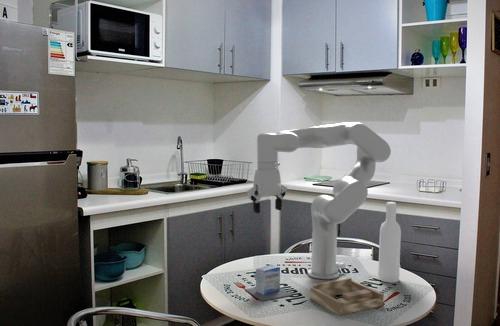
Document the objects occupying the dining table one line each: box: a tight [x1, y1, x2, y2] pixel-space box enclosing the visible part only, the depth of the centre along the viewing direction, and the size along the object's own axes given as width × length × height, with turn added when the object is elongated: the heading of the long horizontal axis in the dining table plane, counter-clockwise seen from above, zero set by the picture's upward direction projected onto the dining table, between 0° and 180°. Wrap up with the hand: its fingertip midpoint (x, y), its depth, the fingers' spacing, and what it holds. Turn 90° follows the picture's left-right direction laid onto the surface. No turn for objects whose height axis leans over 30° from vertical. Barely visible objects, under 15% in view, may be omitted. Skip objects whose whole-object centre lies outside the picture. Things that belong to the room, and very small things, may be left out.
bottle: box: [377, 201, 402, 283], centre depth 193 cm, size 8×8×30 cm
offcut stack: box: [336, 289, 373, 306], centre depth 166 cm, size 14×4×5 cm, turn 119°
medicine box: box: [255, 264, 281, 295], centre depth 178 cm, size 8×4×9 cm, turn 131°
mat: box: [245, 287, 293, 302], centre depth 178 cm, size 12×12×1 cm
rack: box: [309, 277, 384, 316], centre depth 170 cm, size 18×16×5 cm
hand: (267, 211), depth 190 cm, fingers open, 9 cm apart
